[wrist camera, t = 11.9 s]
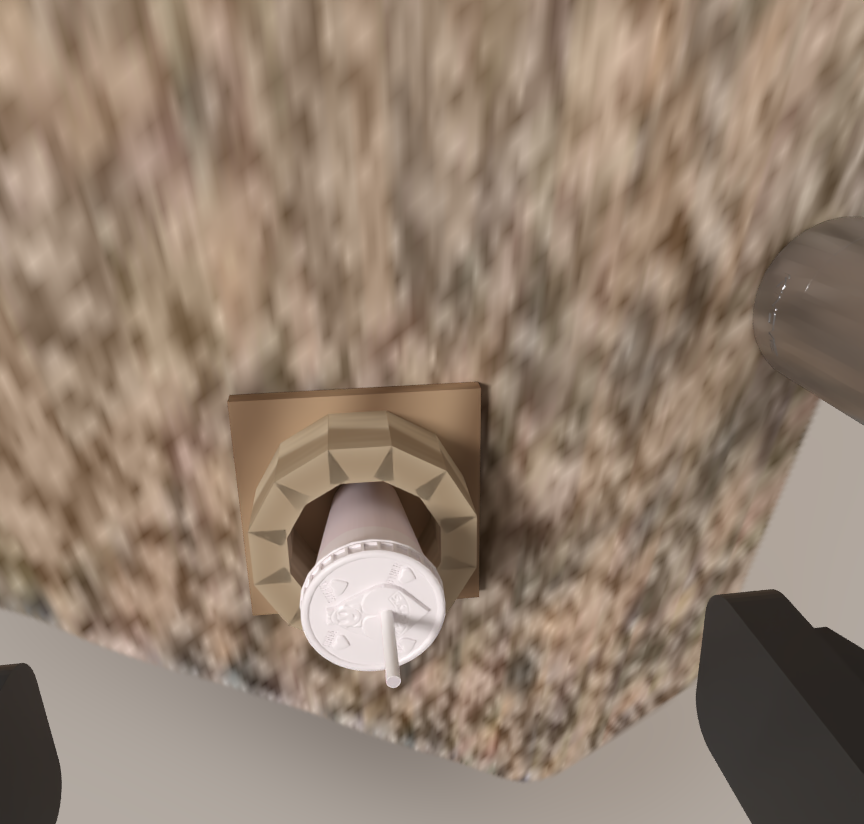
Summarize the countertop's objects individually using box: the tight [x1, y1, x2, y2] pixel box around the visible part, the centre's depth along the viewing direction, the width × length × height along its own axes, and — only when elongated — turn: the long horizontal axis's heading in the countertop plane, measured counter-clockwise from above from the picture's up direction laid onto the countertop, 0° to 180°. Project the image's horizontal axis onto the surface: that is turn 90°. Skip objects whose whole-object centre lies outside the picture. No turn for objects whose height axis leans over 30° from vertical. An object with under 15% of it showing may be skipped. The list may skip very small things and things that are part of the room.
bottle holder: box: [227, 382, 481, 631], centre depth 41 cm, size 13×13×6 cm
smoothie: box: [300, 481, 445, 688], centre depth 37 cm, size 6×6×14 cm
